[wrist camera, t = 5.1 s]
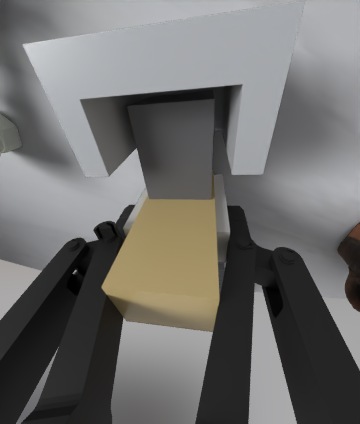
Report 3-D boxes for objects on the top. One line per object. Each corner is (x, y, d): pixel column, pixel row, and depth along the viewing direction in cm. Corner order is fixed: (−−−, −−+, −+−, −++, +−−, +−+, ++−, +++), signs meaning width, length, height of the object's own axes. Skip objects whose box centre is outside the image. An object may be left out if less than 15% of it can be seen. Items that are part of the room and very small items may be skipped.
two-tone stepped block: (173, 257, 22) (154, 358, 14) (146, 97, 11) (1, 153, 3) (209, 259, 21) (209, 367, 13) (217, 90, 10) (241, 144, 3)
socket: (138, 131, 14) (85, 176, 8) (123, 59, 11) (22, 44, 5) (237, 126, 13) (262, 174, 7) (247, 43, 10) (305, -1, 4)
